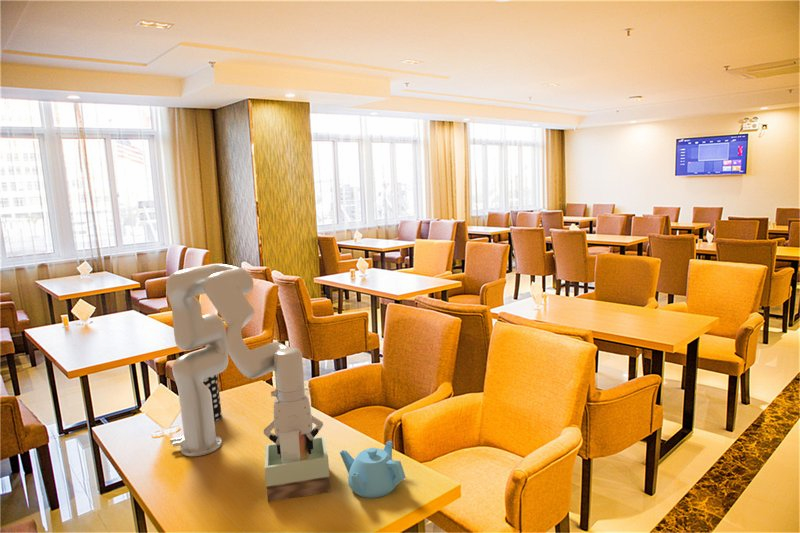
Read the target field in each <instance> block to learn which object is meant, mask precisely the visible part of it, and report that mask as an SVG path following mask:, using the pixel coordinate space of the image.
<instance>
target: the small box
mask: <svg viewBox="0 0 800 533" xmlns="http://www.w3.org/2000/svg"><path fill="white" fill-rule="evenodd" d="M279 439H280V451H281V462H282V464H284V463H290V462H296V461H303V460H307V459H308V457H309V456H310V454H309V453H308V442H307V435H306V434H303V435H302V434H301V431H292V432H286V433H280V434H279Z"/></svg>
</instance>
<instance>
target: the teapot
mask: <svg viewBox="0 0 800 533" xmlns="http://www.w3.org/2000/svg"><path fill="white" fill-rule="evenodd" d="M339 454H340V457H341V459H342V462H343V463H344V466H345V469H346V471H347V473H348V476H347V479H348V480H347V483H348V487H349V488H350V489H351V490H352V491H353V492H354V493H355V494H357V495H358V496H360V497H362V498H368V499H377V498H381V497H382V498H383V497H385V496H387V495H388V494H390V493H392V492H393V491H394V490H395V488H396V487H397V485H399V484H400V483H401V482H403V481H404V479H406V477H407V476H406V474H405V471H404V467H403V465H402V462H401V460H394V459H393V440H392V441H391V440H388V441H386V442H385V445H384V448H383V449H382V448H376V447H369V448H367V449H363V450H361V451H360V452H359V453H358V454H357V455H356V457H355V458H353V457H352V455H351V454H350V453H349V452H348V451H347V450H346V449H345V450H344V449H342V450H340V452H339Z"/></svg>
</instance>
